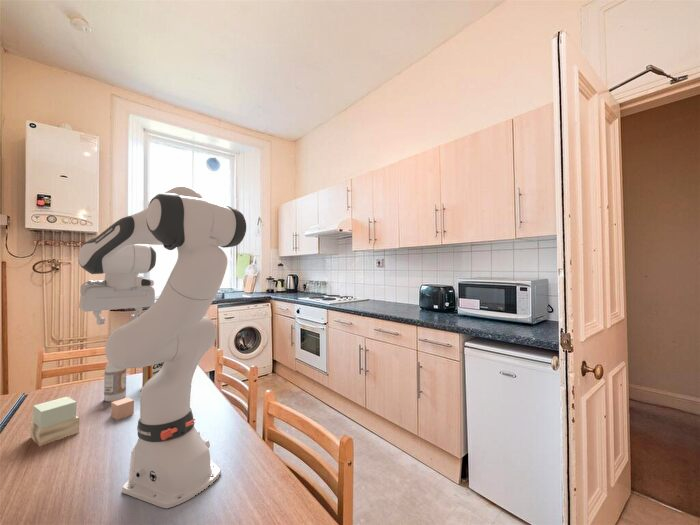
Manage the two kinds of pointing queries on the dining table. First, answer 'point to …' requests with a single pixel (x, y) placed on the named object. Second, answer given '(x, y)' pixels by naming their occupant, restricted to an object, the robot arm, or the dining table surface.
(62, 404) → the sage middle block
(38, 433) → the birch base block
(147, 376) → the baking soda box
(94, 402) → the dining table surface
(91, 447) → the dining table surface
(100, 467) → the dining table surface
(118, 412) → the terracotta cube
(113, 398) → the bath foam
